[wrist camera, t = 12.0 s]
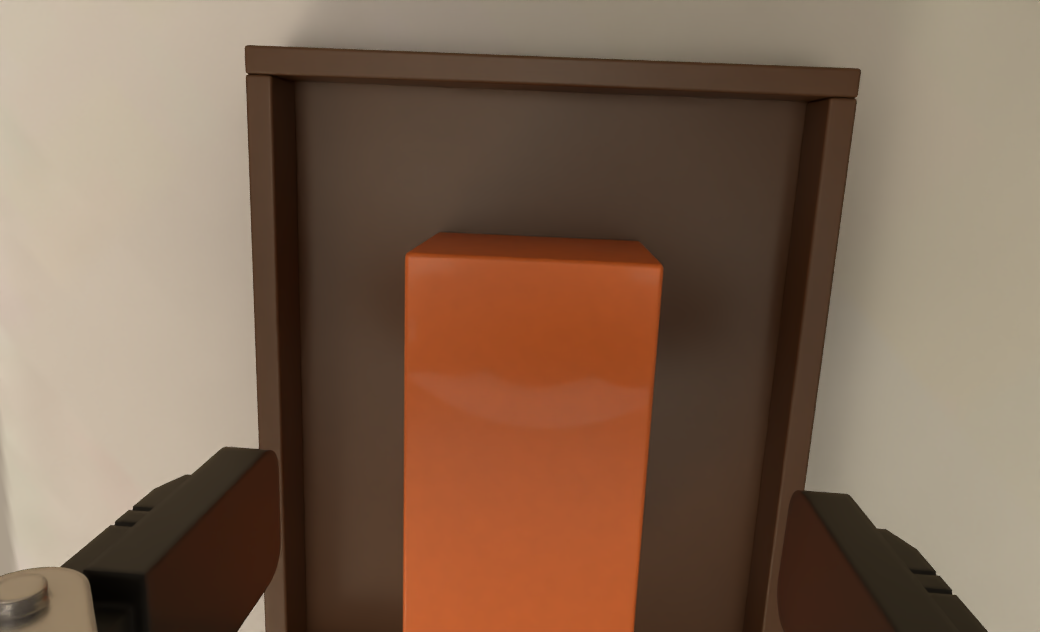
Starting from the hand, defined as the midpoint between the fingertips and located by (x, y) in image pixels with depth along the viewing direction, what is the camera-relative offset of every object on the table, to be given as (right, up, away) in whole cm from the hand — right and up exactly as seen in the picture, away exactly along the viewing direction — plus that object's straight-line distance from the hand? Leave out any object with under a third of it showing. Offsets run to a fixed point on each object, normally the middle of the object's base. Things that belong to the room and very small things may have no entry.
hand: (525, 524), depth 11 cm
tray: (0, +1, +8) cm, 8 cm away
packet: (0, +1, +7) cm, 8 cm away
